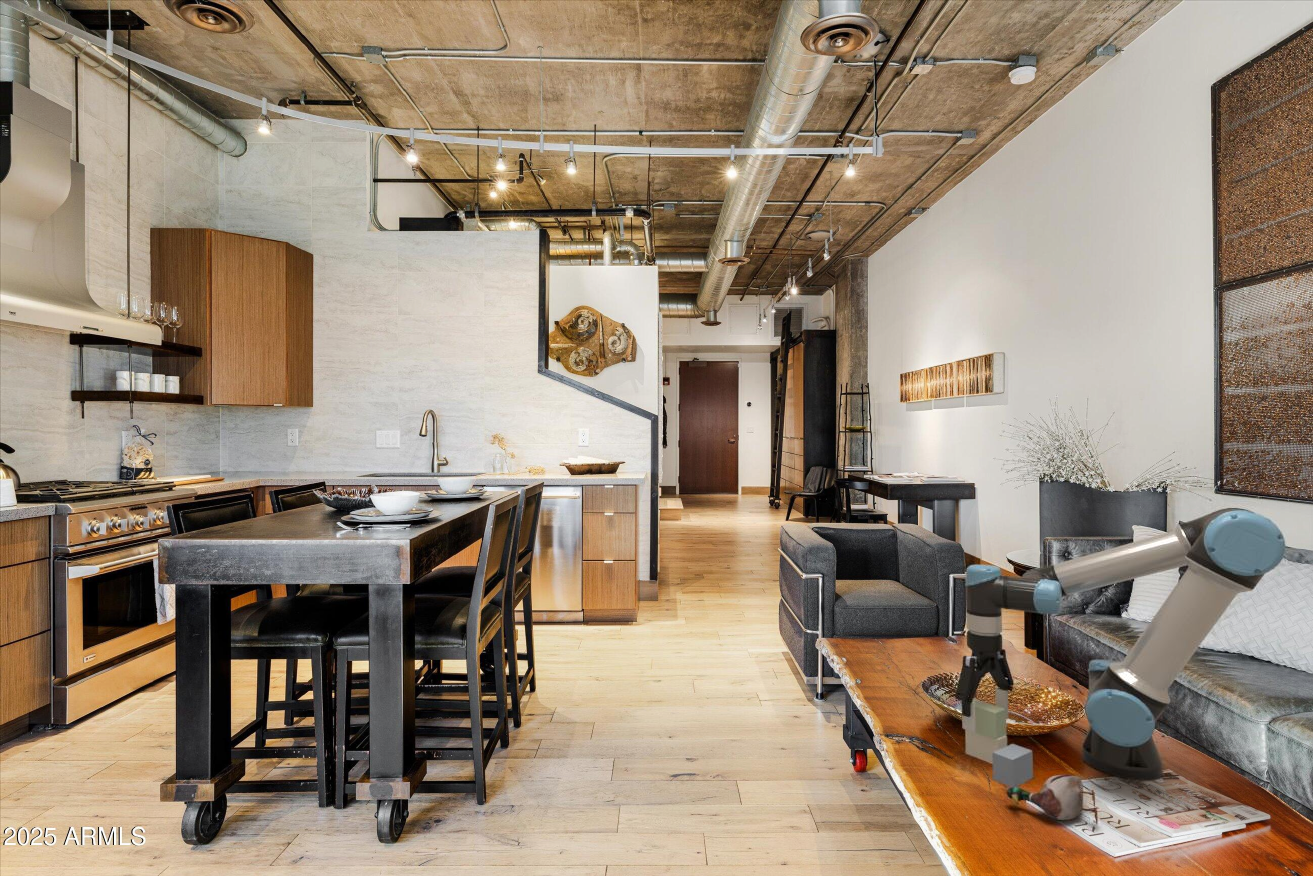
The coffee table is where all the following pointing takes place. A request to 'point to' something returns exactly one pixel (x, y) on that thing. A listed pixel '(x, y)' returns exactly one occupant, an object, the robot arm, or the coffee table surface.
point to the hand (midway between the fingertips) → (985, 723)
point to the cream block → (983, 745)
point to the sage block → (990, 720)
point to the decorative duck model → (1057, 797)
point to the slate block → (1012, 765)
